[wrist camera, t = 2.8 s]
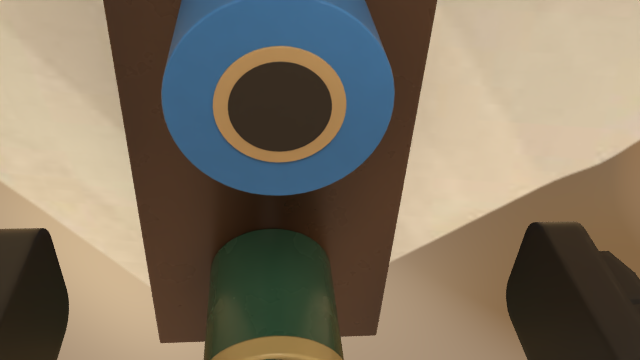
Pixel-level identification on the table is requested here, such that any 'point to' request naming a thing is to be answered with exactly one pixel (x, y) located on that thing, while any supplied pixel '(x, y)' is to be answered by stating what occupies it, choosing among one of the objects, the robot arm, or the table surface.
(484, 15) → the table surface
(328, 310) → the tea tin
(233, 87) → the tape roll
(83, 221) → the table surface
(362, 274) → the shelf
